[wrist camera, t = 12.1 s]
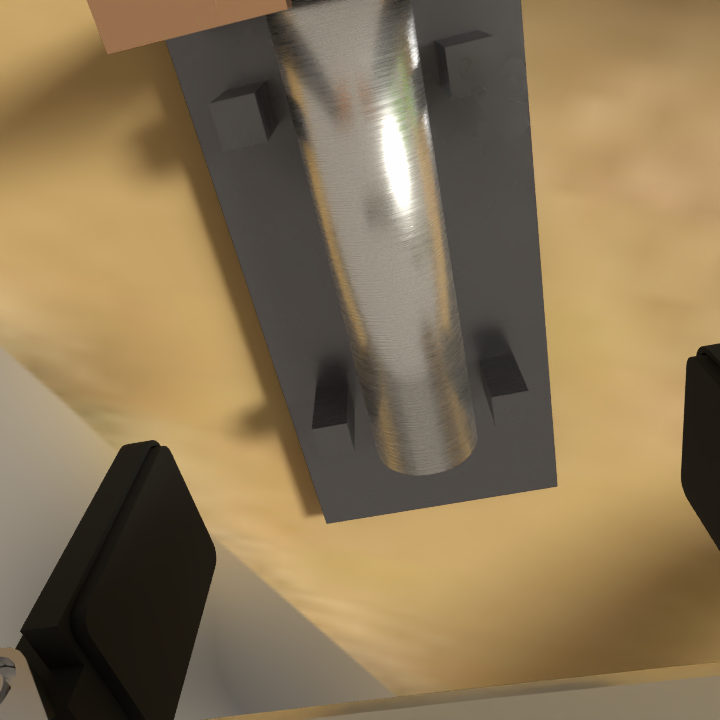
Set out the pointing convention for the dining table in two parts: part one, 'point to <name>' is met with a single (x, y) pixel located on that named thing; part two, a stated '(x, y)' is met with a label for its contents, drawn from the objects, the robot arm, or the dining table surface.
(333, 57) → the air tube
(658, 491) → the dining table surface
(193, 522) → the robot arm
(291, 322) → the saddle stand
